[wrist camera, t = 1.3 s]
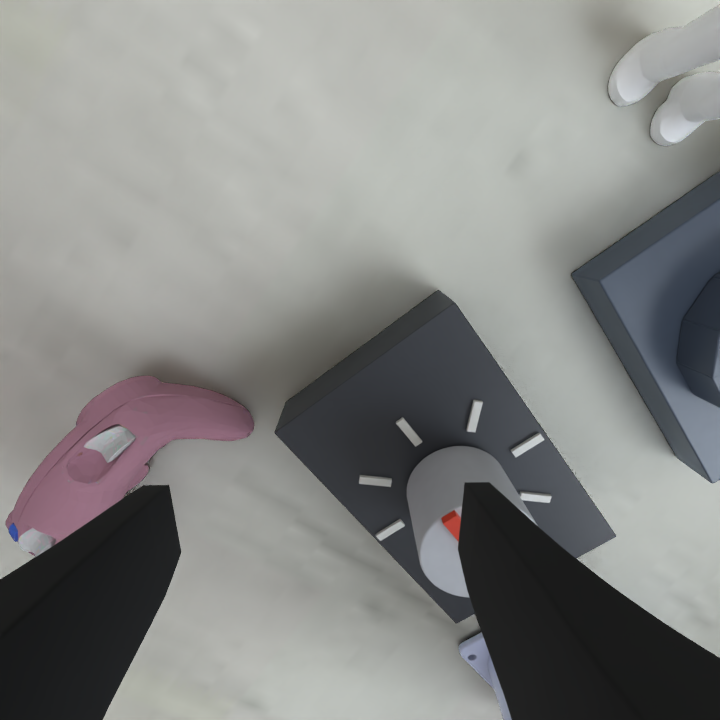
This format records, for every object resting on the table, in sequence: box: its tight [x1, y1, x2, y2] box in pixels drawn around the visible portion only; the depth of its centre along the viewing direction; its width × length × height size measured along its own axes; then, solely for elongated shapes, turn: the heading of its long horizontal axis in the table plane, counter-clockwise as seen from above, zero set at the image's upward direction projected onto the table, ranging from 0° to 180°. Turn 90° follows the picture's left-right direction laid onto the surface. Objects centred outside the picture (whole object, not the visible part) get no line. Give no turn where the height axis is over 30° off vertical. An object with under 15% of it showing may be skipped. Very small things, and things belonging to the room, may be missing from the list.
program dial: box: [406, 446, 537, 597], centre depth 16 cm, size 4×4×4 cm
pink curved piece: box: [6, 376, 254, 557], centre depth 18 cm, size 10×5×7 cm, turn 140°
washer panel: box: [275, 290, 616, 623], centre depth 19 cm, size 14×9×3 cm, turn 37°
